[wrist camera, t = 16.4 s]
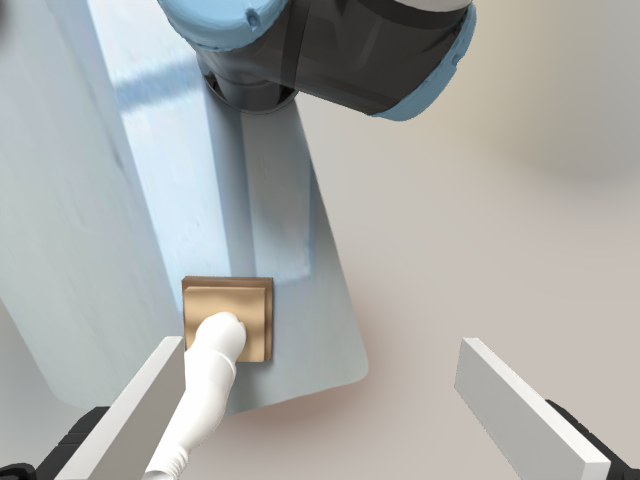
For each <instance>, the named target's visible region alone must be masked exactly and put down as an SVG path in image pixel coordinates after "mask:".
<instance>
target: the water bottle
mask: <svg viewBox="0 0 640 480" xmlns="http://www.w3.org/2000/svg"><path fill="white" fill-rule="evenodd" d="M245 342H246V329H245V326H244V324H243V322H242V321H241V322H239V321H238V320H237V317H236V316H235V315H234V314H233V313H230V312H219V313H217V314H215V315H213V316H210V317H208V318H206V319H205V320H204V321H203V322H202V323H201V325H200V326H199V328H198V329H197V331H196V338H195V341H194V343H193V344H192V346H191V347H190V348H189V349H188V350H187V351H186V352H185V353H184V358H185V378H186V391H185V393H184V395H183V397H182V399H181V401H180V403H179V405H178V407H177V409H176V411H175V413H174V415H173V417H172V419H171V421H170V423H169V425H168V427H167V429H166V431H165V433H164V435H163V437H162V439H161V441H160V443H159V445H158V447H157V449H156V451H155V453H154V455H153V457H152V459H151V461H150V463H149V465H148V467H147V469H146V471H145V473H144V475H143V477H142V479H141V480H178V479H179V477H180V475H181V474H182V472H183V471H184V469H185V468H186V467H187V464H188V462H189V454H190V453H191V452H192V451H193V450H194V449H195V448H196V447H197V446H199V445H200V444H201V443H202V442H204V441H205V440H206V439H207V438H208V437H209V436H210V435H211V434H212V433H213V432H214V431H215V430H216V428H217V427H218V425H219V424H220V422H221V420H222V418H223V416H224V413H225V409H226V402H227V399H228V396H229V392H230V389H231V387H232V385H233V383H234V380H235V376H236V366H235V362H236V359H237V357H238V356H239V355H240V353H241V352H242V350H243V348H244V345H245Z"/></svg>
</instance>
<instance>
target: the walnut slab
mask: <svg viewBox="0 0 640 480" xmlns="http://www.w3.org/2000/svg"><path fill="white" fill-rule="evenodd" d="M188 287H245V288H266V290H265V357H264V360H271V354H272V296H273V278H255V277H204V276H186V277H185V278H184V279H183V280H182V296H183V316H184V336H185V352H186V351H187V339H186V319H185V299H184V291H185V290H186V289H187V288H188Z"/></svg>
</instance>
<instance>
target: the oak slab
mask: <svg viewBox="0 0 640 480" xmlns="http://www.w3.org/2000/svg"><path fill="white" fill-rule="evenodd" d="M265 290H266V288H245V287H188V288H187V289H186V290H185V291H184V299H185V319H186V339H187V350H188V349H189V348H190V347H191V346H192V344H193V343H194V341H195V338H196V331H197V329H198V328H199V326H200V325H201V323H202V322H203V321H204V320H205V319H206V318H208V317H210V316H213V315H215V314H217V313H219V312H230V313H233V314H234V315H235V316H236V317H237V320H238V321H239V322H241V321H242V322H243V324H244V326H245V329H246V342H245V345H244V348H243V350H242V352H241V353H240V355H239V356H238V357H237V359H236V362H264V357H265Z"/></svg>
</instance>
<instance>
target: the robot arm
mask: <svg viewBox="0 0 640 480" xmlns="http://www.w3.org/2000/svg"><path fill="white" fill-rule="evenodd" d="M157 1H158V3H159V5H160V6H161V8H162V9H163V11H164V13H165V14H166V16H167V18H168V21H169V23H170V24H171V26H172V27H173V28H174V30H175V31H176V32H177V33H179V34H180V35H181V37H182V38H185V39H186V41H187V42H188V43H189V44H190V45H191V46H192V48H193V49H194V50H195V51H196V54H197V60H198V64H199V67H200V70H201V72H202V75H203V77H204V79H205V81H206V82H207V84H208V85H209V87H210V88H211V89H212V91H213V92H214V93H215V94H216V95H217V96H218V97H219V98H220V99H221V100H222V101H224V102H225V103H226V104H228V105H229V106H231V107H232V108H234V109H236V110H239V111H242V112H245V113H249V114H266V113H271V112H274V111H277V110H279V109H281V108H282V107H284V106H286V105H287V104H288V103H289V102H290V101H292V100H293V98H294V97H295V96H296V95H297V94H298V92H299V91H301V92H304V93H307V94H310V95H313V96H316V97H318V98H322V99H324V100H327V101H330V102H333V103H336V104H339V105H342V106H345V107H348V108H351V109H353V110H356V111H359V112H362V113H364V114H366V115H368V116H372V117H382V118H386V119H389V120H393V121H406V120H409V119H411V118H414V117H416V116H417V115H418V114H420V113H421V112H423V111H424V110H425V109H426V108H427V107H429V106H430V105H431V104H432V103H433V101H434V100H435V99H436V98H437V97H438V96H439V94H440V93H441V92H442V91H443V90H444V88H445V87H446V86H447V84H448V83H449V81H450V80H451V78H452V77H453V75H454V74H455V72H456V70H457V68H456V65H457V63H458V61H459V60H460V59H461V58H462V57H463V56H464V55H465V53H466V51H467V49H468V47H469V44H470V42H471V39H472V36H473V33H474V29H475V25H476V7H475V5H474V4H473V3H472V0H157ZM454 387H455V389H456V390H457V392H458V393H459V394H460V396H461V397H462V399H463V400H464V401H465V403H466V404H467V405H468V407H469V408H470V409H471V411H472V412H473V414H474V415H475V416H476V418H477V419H478V420H479V422H480V423H481V424H482V426H483V427H484V429H485V430H486V432H487V433H488V434H489V436H490V437H491V438H492V440H493V441H494V443H495V444H496V445H497V447H498V448H499V449H500V451H501V452H502V453H503V455H504V456H505V458H506V459H507V460H508V462H509V463H510V464H511V466H512V467H513V469H514V470H515V471H516V473H517V474H518V476H519V477H520V478H521V480H640V469H632V468H630V467H629V466H628V465H627V464H626V463H625V462H623V461H622V460H621V459H620V458H619V457H618V456H617V455H616V454H614V453H613V452H612V451H611V450H610V449H609V448H608V447H607V446H606V445H604V444H603V443H602V442H601V441H600V440H599V439H598V438H597V437H595V436H594V435H593V434H592V433H589V431H588V429H586V428H585V427H584V426H583V425H582V424H581V423H578V421H577V420H576V419H575V418H574V417H573V416H572V415H571V414H570V413H568V412H567V411H566V410H565V409H564V408H562V407H560V406H559V405H557V404H555V403H554V402H552V401H550V400H544V399H543V398H542V397H541V396H540V395H538V394H537V393H536V392H535V391H534V390H533V389H532V388H531V387H530V386H529V385H528V384H527V383H525V382H524V381H523V380H522V379H521V378H520V377H519V376H518V375H517V374H516V373H515V372H514V371H513V370H512V369H510V368H509V367H508V366H507V365H506V364H505V363H504V362H503V361H501V359H500V358H499V357H497V356H496V355H495V354H494V353H493V352H492V351H491V350H490V349H489V348H488V347H487V346H486V345H485V344H483V343H482V342H481V341H480V340H479V339H478V338H462V342H461V348H460V355H459V361H458V367H457V373H456V380H455V385H454ZM185 391H186V378H185V358H184V339H183V336H166V337H165V338H164V339H163V341H162V342H161V343H160V344H159V346H158V347H157V348H156V349H155V351H154V352H153V353H152V355H151V356H150V357H149V358H148V360H147V361H146V362H145V364H144V365H143V366H142V367H141V369H140V370H139V371H138V373H137V374H136V375H135V376H134V378H133V379H132V380H131V382H130V383H129V384H128V385H127V387H126V388H125V389H124V390H123V392H122V393H121V394H120V396H119V397H118V398H117V399H116V401H115V402H114V403H113V405H112V406H111V407H95V408H94V409H93V410H91V411H90V412H88V413H87V414H86V415H84V416H83V417H82V418H80V419H79V420H78V421H77V423H76V424H75V425H74V426H73V427H72V428H71V430H70V431H69V432H68V435H65V436H64V438H63V439H62V440H61V441H60V442H59V444H58V446H56V447H55V448H54V449H53V450H52V451H51V453H50V454H49V455H48V456H47V457H46V458H45V459H44V461H43V462H42V463H41V464H40V465H39V466H38V468H37V469H36V470H35V469H34V467H33V466H32V465H30V464H26V463H17V464H11V465H8V466H5V467H2V468H0V480H141V479H142V477H143V475H144V473H145V471H146V469H147V467H148V465H149V463H150V461H151V459H152V457H153V455H154V453H155V451H156V449H157V447H158V445H159V443H160V441H161V439H162V437H163V435H164V433H165V431H166V429H167V427H168V425H169V423H170V421H171V419H172V417H173V415H174V413H175V411H176V409H177V407H178V405H179V403H180V401H181V399H182V397H183V395H184V393H185Z"/></svg>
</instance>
